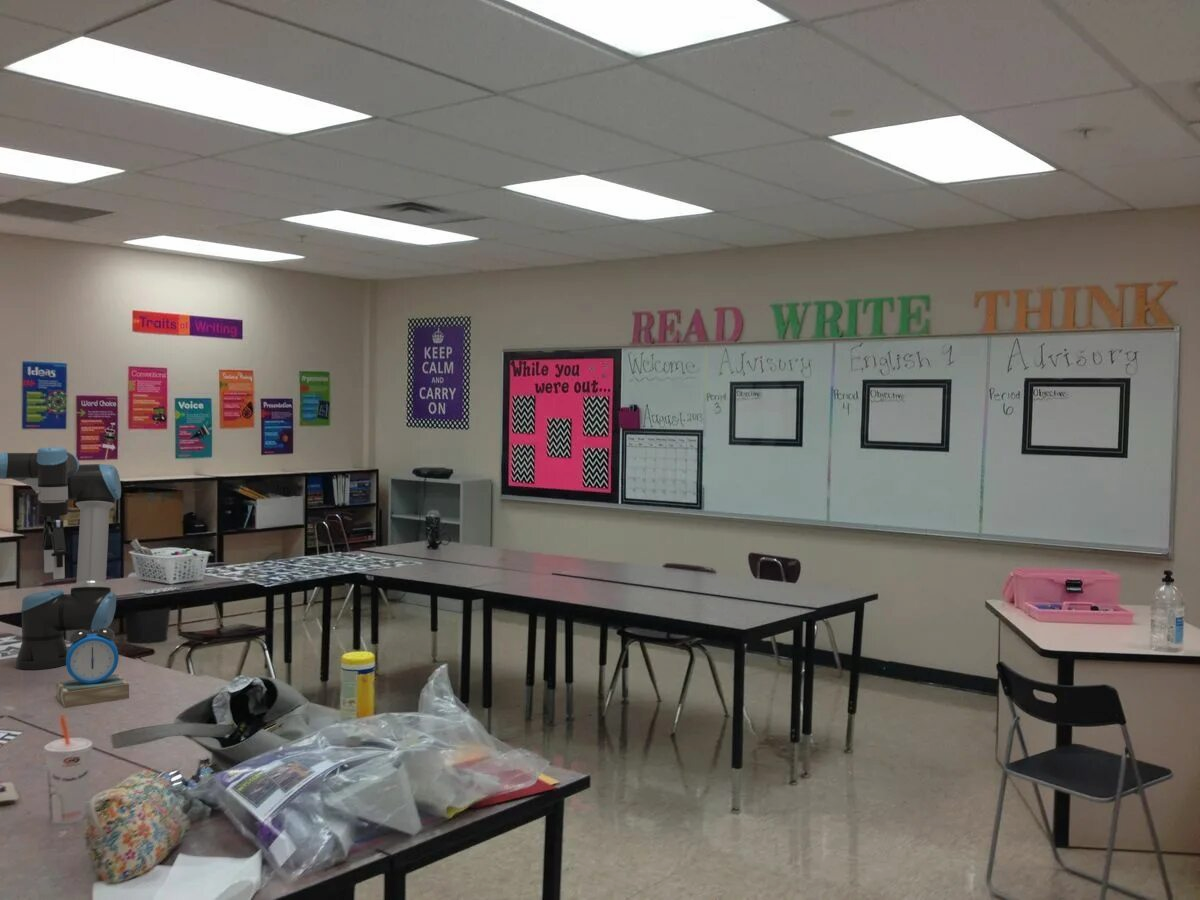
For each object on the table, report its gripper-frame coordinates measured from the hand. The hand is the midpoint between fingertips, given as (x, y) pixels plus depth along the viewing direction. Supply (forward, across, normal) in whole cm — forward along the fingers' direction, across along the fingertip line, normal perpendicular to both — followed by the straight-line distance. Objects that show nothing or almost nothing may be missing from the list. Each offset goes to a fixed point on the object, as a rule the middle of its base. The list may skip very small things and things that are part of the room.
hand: (54, 575), depth 292 cm
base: (+33, +14, +7) cm, 37 cm away
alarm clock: (+29, +14, +7) cm, 33 cm away
